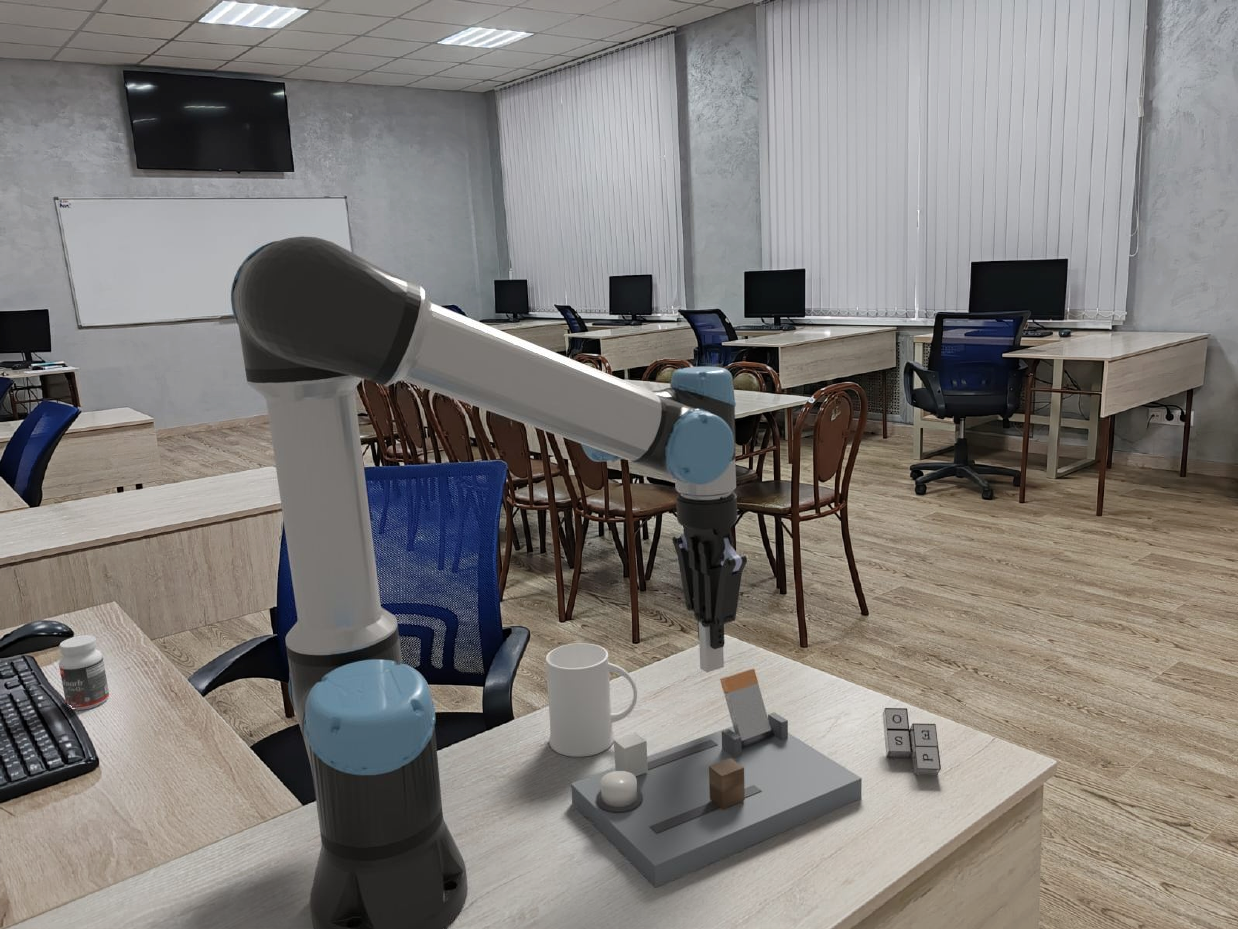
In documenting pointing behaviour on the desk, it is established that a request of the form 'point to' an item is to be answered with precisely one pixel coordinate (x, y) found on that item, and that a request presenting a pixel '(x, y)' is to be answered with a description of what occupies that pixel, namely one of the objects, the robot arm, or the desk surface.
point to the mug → (582, 699)
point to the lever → (746, 707)
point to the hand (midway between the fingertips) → (712, 667)
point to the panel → (696, 826)
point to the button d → (619, 788)
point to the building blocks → (911, 741)
